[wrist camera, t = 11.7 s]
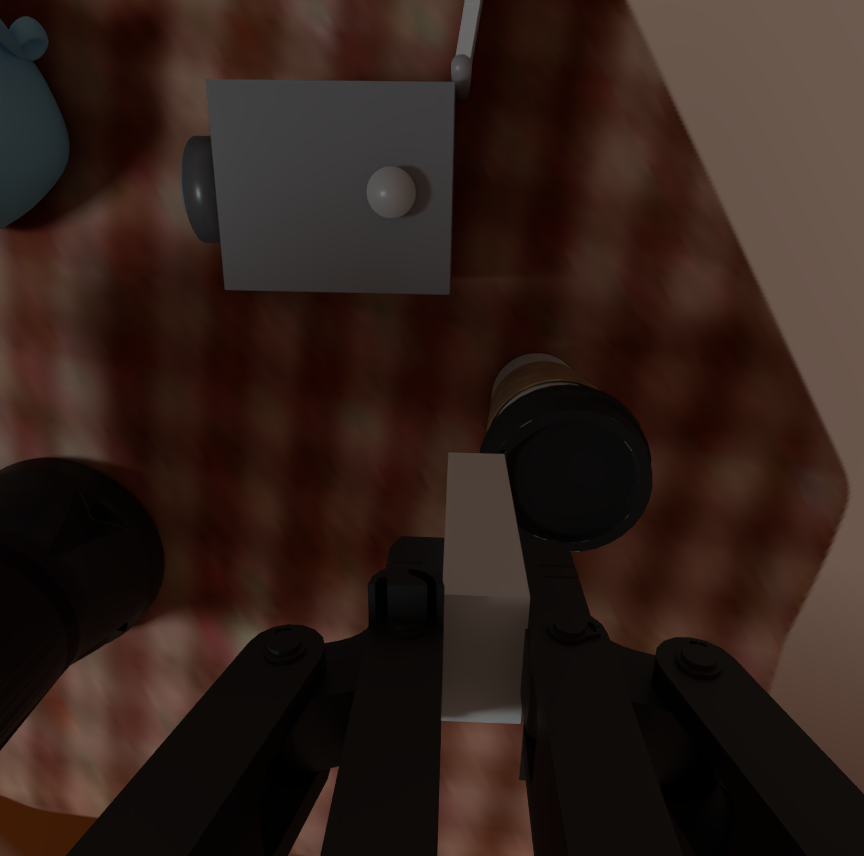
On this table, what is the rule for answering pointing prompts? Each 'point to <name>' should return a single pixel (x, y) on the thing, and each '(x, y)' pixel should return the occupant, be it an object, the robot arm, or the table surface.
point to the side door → (466, 49)
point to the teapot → (27, 122)
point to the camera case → (326, 184)
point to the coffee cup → (567, 454)
